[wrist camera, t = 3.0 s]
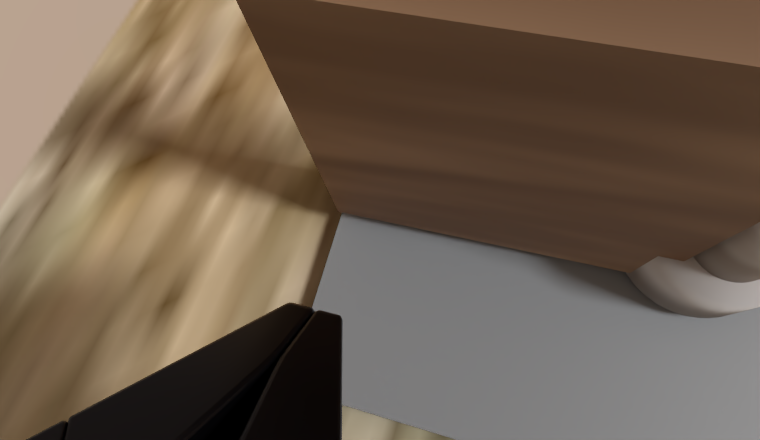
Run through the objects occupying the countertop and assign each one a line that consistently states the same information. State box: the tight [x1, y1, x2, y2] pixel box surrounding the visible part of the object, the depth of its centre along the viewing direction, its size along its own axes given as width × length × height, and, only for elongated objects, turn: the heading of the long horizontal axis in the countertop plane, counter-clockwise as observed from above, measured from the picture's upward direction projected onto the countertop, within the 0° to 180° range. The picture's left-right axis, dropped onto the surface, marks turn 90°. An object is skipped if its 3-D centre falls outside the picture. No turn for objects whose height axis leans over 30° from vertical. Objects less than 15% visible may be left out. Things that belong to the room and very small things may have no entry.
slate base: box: [312, 213, 760, 440], centre depth 15 cm, size 14×12×1 cm
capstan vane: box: [236, 0, 760, 318], centre depth 11 cm, size 4×12×9 cm, turn 76°
